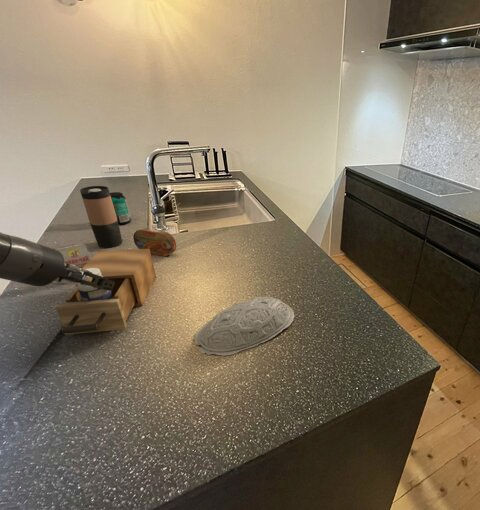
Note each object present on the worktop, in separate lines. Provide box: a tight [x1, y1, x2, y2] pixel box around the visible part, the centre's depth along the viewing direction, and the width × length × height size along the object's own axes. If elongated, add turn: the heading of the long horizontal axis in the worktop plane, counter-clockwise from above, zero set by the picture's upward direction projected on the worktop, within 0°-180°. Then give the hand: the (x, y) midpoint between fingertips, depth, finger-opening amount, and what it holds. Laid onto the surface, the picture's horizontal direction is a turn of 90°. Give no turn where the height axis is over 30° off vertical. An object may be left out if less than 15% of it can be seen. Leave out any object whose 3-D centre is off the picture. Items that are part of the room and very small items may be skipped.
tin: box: [132, 227, 177, 257], centre depth 104 cm, size 15×3×8 cm, turn 76°
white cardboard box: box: [54, 243, 92, 282], centre depth 87 cm, size 4×7×10 cm, turn 134°
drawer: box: [55, 277, 137, 336], centre depth 71 cm, size 19×11×8 cm, turn 15°
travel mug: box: [79, 185, 123, 249], centre depth 104 cm, size 8×8×20 cm
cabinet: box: [75, 248, 157, 308], centre depth 82 cm, size 15×13×10 cm
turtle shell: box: [194, 296, 295, 357], centre depth 75 cm, size 16×25×7 cm, turn 131°
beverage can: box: [110, 191, 132, 226], centre depth 123 cm, size 7×7×12 cm
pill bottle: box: [77, 268, 113, 301], centre depth 70 cm, size 5×5×10 cm
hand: (101, 283), depth 71 cm, fingers closed on pill bottle, 5 cm apart
